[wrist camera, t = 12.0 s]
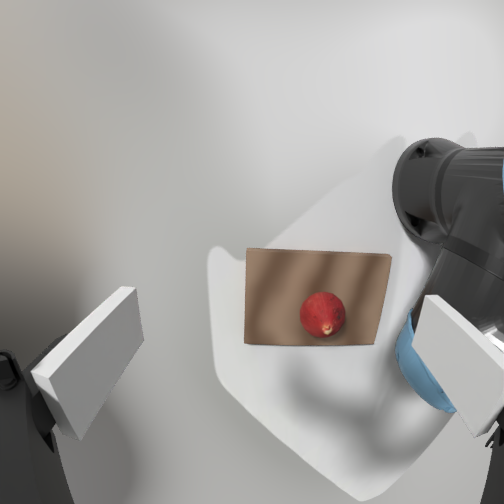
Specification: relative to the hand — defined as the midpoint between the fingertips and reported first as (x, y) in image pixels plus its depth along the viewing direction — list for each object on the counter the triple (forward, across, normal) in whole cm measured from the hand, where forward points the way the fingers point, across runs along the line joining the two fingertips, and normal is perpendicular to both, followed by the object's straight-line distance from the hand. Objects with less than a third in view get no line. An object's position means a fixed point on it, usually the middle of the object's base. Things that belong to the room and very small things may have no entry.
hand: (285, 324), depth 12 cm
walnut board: (+27, +7, -11) cm, 30 cm away
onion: (+25, +7, -11) cm, 28 cm away
